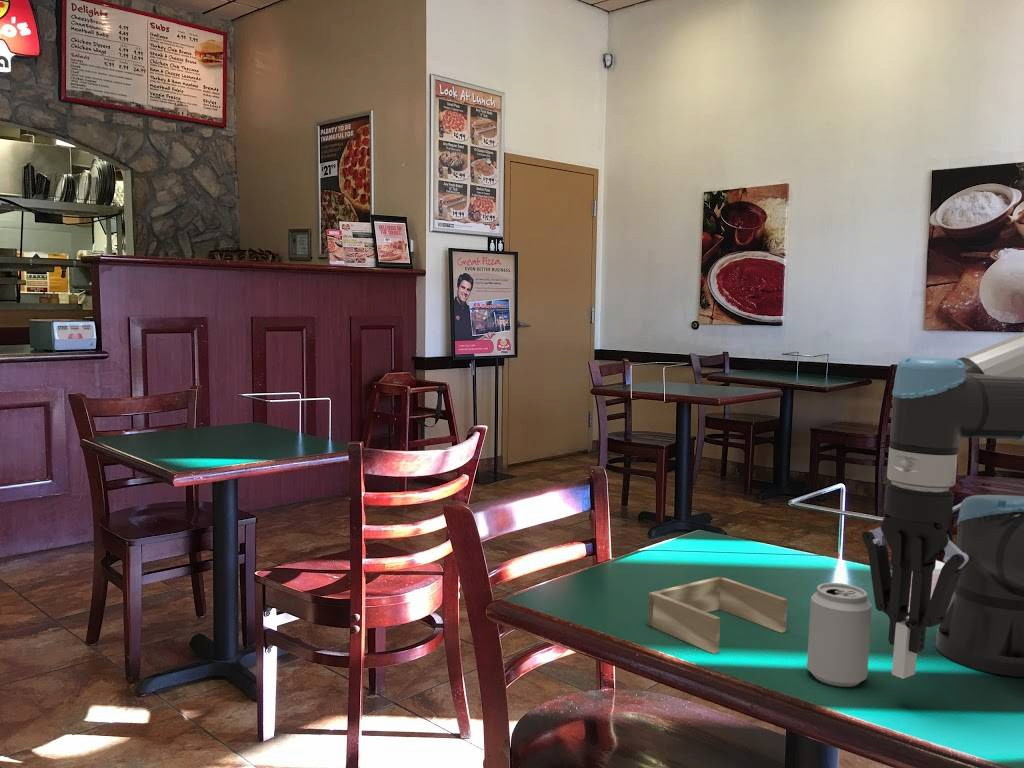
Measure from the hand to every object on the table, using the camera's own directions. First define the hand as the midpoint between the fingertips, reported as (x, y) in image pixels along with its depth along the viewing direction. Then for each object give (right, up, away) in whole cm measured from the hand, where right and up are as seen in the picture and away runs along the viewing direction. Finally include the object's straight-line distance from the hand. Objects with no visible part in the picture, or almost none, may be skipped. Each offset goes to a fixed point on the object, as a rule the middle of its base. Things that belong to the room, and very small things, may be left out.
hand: (903, 674), depth 108 cm
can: (-5, -3, +8) cm, 10 cm away
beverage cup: (+17, -2, +32) cm, 36 cm away
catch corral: (-17, -1, +24) cm, 30 cm away
